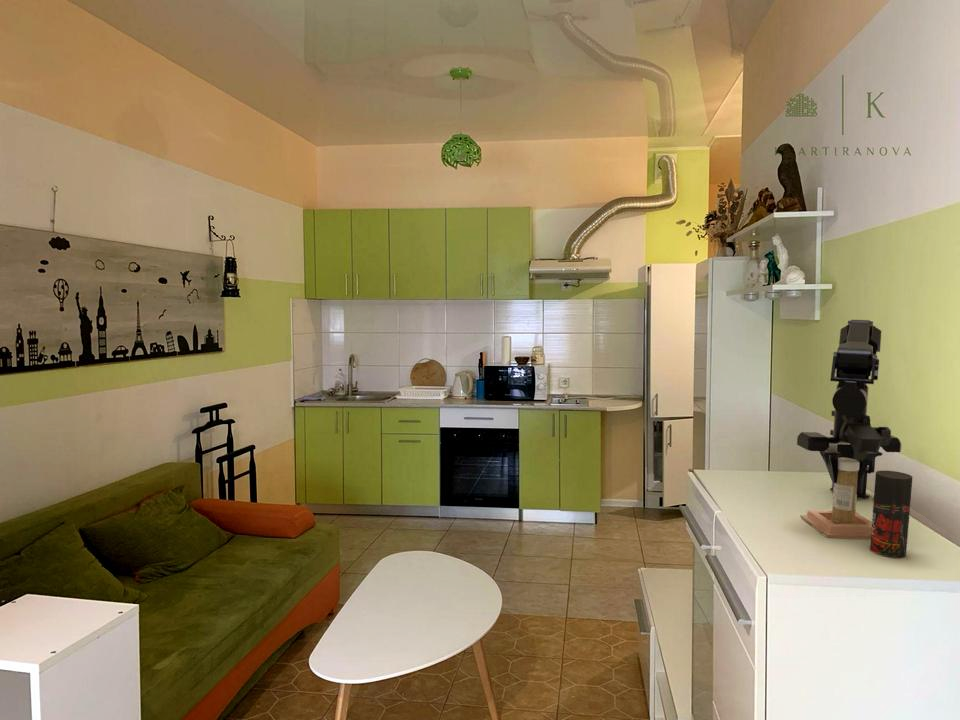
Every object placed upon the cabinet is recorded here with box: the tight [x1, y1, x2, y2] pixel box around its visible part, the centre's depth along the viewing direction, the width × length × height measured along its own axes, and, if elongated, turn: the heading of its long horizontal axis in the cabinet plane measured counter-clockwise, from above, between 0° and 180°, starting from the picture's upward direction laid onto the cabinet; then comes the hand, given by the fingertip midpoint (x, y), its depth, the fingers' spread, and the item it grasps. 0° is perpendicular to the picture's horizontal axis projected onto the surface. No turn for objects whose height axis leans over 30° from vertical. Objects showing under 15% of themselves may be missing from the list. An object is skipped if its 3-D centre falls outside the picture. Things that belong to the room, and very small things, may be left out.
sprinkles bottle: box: [831, 458, 860, 524], centre depth 143 cm, size 5×5×14 cm
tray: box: [799, 509, 872, 539], centre depth 143 cm, size 12×12×2 cm
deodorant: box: [869, 470, 914, 559], centre depth 130 cm, size 6×6×15 cm
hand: (845, 482), depth 142 cm, fingers closed on sprinkles bottle, 4 cm apart
